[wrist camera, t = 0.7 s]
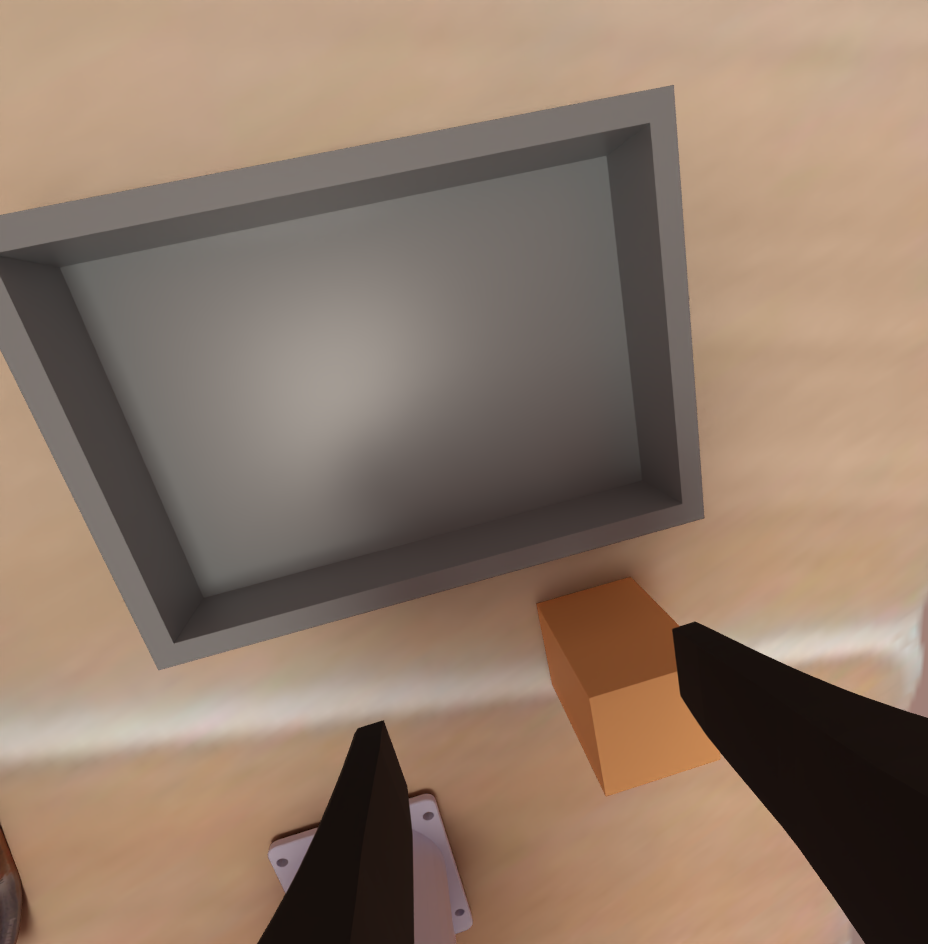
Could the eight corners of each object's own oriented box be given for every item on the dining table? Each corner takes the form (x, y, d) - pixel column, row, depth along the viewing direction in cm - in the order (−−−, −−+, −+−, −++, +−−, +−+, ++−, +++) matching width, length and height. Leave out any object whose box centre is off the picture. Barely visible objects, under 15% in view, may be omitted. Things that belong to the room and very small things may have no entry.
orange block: (640, 657, 24) (720, 759, 18) (551, 683, 24) (605, 796, 18) (630, 576, 23) (713, 660, 17) (536, 603, 22) (589, 698, 17)
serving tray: (654, 488, 22) (704, 518, 18) (195, 612, 20) (158, 670, 16) (617, 131, 17) (673, 84, 14) (33, 248, 16) (-61, 226, 12)
